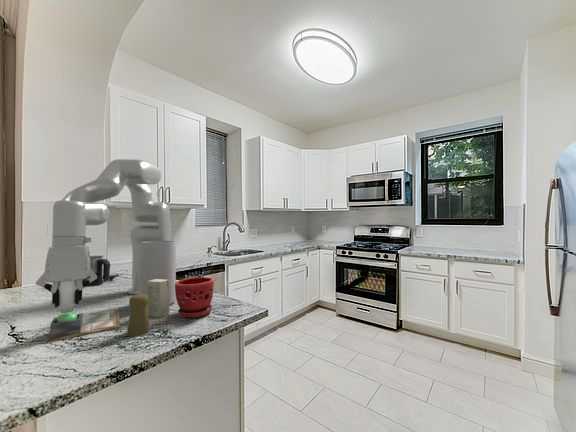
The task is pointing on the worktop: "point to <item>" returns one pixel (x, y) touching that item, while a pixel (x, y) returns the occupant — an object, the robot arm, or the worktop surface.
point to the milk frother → (100, 270)
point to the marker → (67, 295)
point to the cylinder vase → (159, 264)
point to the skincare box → (158, 297)
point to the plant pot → (194, 296)
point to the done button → (67, 317)
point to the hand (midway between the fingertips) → (67, 303)
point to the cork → (138, 315)
